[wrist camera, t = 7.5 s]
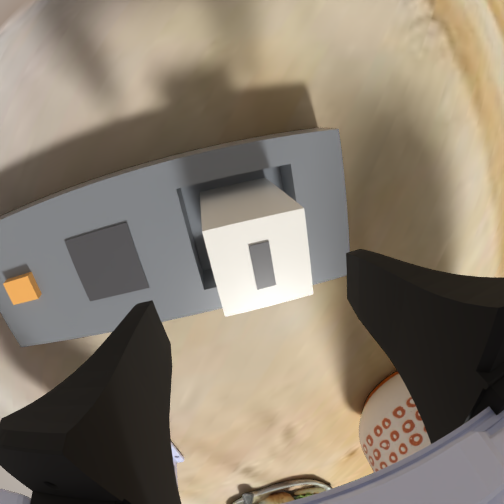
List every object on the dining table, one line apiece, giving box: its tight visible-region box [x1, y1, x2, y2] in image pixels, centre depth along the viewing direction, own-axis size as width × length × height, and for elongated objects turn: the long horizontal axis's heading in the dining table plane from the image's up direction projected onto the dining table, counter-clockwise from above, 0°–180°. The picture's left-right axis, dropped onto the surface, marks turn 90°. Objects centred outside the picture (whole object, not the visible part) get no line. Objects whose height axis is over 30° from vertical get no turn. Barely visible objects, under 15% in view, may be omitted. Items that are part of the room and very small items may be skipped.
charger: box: [200, 178, 313, 317], centre depth 16 cm, size 4×4×7 cm
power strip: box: [0, 128, 350, 347], centre depth 17 cm, size 28×9×4 cm, turn 100°
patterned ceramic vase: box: [359, 371, 431, 472], centre depth 18 cm, size 13×13×28 cm
